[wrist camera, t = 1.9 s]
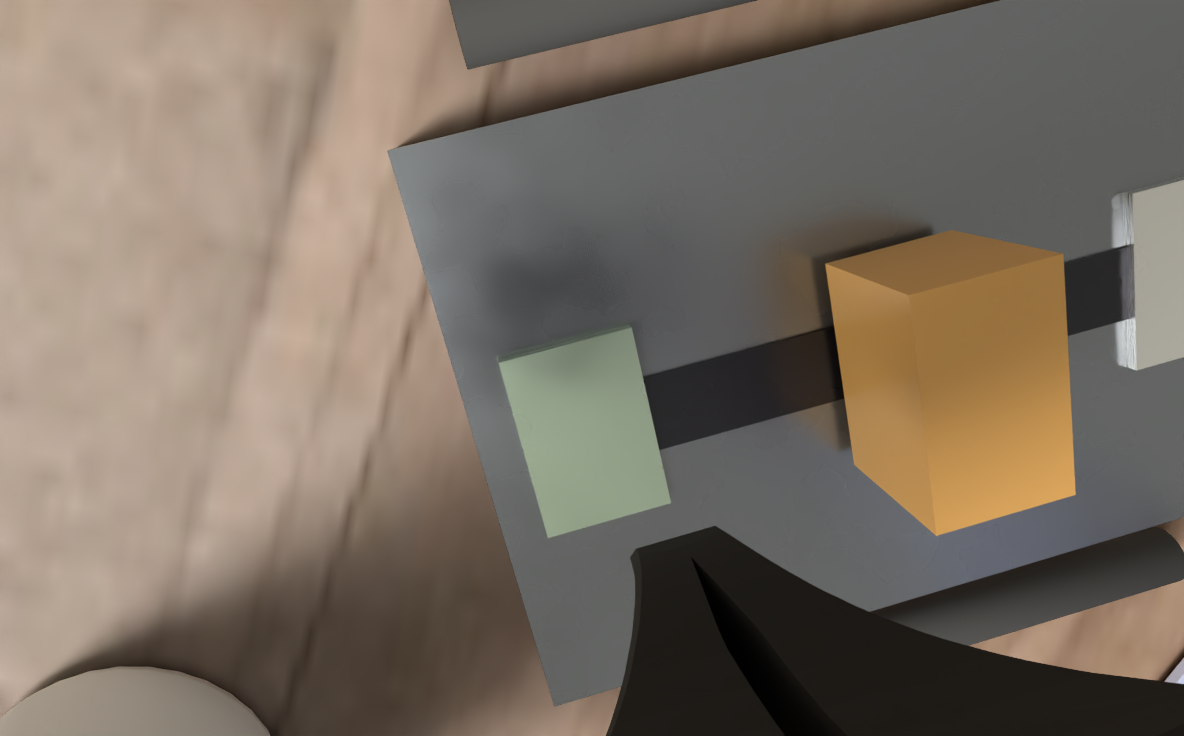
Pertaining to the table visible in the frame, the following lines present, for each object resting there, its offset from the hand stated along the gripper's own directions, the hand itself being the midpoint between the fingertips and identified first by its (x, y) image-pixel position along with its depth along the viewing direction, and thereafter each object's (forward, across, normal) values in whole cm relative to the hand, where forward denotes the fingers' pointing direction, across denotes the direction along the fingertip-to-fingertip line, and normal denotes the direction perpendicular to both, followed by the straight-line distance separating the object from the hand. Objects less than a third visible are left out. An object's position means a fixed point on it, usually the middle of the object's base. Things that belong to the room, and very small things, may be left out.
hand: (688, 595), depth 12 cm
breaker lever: (+7, -7, 0) cm, 10 cm away
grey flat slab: (+9, -7, 0) cm, 12 cm away
